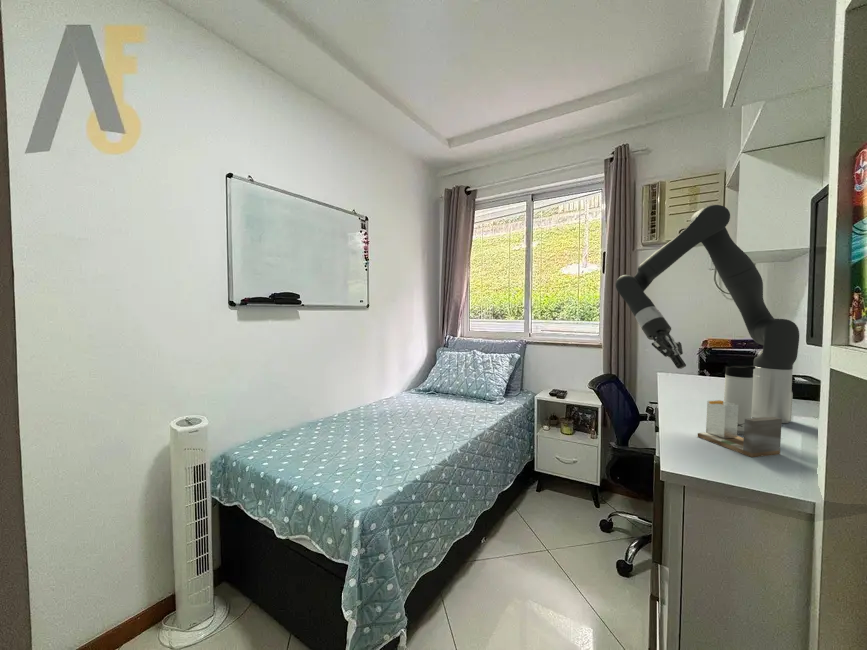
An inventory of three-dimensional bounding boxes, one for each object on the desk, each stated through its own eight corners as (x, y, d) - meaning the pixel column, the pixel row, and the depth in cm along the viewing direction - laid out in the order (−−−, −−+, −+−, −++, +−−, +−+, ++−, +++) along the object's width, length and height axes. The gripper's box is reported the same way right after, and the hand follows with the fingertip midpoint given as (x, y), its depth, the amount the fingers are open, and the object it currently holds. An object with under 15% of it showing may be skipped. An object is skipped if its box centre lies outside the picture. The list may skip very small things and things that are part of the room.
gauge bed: (697, 436, 99) (698, 405, 99) (722, 434, 101) (724, 403, 101) (751, 457, 86) (753, 421, 85) (779, 454, 88) (781, 418, 87)
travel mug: (745, 437, 99) (749, 367, 98) (718, 429, 105) (721, 363, 104) (756, 433, 102) (759, 365, 101) (728, 426, 108) (731, 362, 107)
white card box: (700, 432, 99) (701, 399, 98) (718, 431, 100) (719, 398, 100) (718, 439, 94) (719, 404, 93) (736, 437, 95) (738, 402, 95)
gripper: (649, 314, 114) (680, 360, 104) (673, 318, 119) (705, 362, 110) (631, 327, 119) (659, 372, 109) (655, 330, 125) (683, 373, 115)
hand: (682, 367), depth 109 cm, fingers closed
